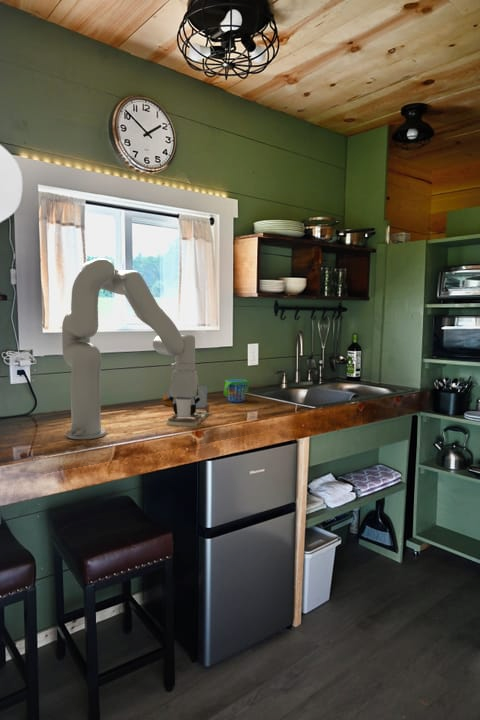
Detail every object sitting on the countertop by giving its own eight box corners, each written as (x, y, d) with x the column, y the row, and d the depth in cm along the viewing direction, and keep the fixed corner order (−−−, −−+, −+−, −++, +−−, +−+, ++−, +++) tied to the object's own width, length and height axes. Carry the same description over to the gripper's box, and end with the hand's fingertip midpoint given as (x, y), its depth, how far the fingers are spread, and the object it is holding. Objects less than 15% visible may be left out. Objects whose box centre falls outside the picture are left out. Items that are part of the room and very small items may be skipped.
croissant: (177, 404, 237) (175, 388, 237) (202, 404, 228) (200, 386, 228) (155, 408, 225) (153, 390, 225) (180, 407, 216) (178, 389, 216)
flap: (206, 386, 204) (207, 386, 205) (185, 385, 205) (186, 385, 206) (205, 409, 203) (206, 409, 204) (184, 408, 205) (185, 408, 206)
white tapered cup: (197, 416, 190) (197, 397, 189) (183, 418, 185) (183, 400, 184) (185, 413, 194) (185, 395, 194) (172, 415, 190) (172, 397, 189)
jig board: (195, 426, 184) (195, 415, 183) (166, 424, 186) (166, 414, 185) (209, 414, 205) (209, 404, 205) (183, 412, 207) (183, 403, 207)
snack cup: (240, 398, 244) (240, 377, 243) (255, 401, 236) (255, 379, 235) (216, 401, 233) (216, 380, 232) (231, 405, 225) (232, 383, 224)
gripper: (159, 367, 186) (159, 415, 187) (204, 369, 183) (204, 417, 184) (166, 365, 193) (166, 411, 195) (209, 367, 190) (208, 413, 192)
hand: (184, 413), depth 190 cm, fingers closed on white tapered cup, 5 cm apart
